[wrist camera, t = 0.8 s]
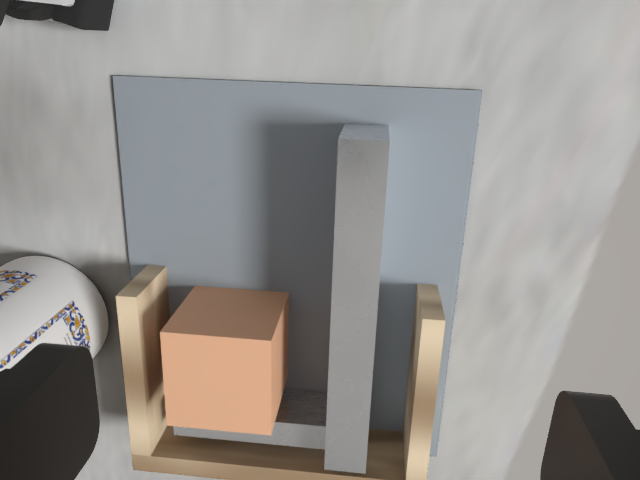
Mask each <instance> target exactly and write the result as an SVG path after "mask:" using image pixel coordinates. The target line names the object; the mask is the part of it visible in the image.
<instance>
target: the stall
mask: <svg viewBox="0 0 640 480" xmlns="http://www.w3.org/2000/svg"><path fill="white" fill-rule="evenodd" d="M116 306H117V316H118V325H119V335H120V345H121V355H122V365H123V374H124V384H125V394H126V404H127V414H128V423H129V433H130V443H131V453H132V462H133V470H139V471H149V472H159V473H168V474H178V475H188V476H197V477H207V478H217V479H227V480H427V471H428V463H429V455H430V446H431V438H432V430H433V422H434V413H435V405H436V397H437V388H438V380H439V372H440V363H441V355H442V347H443V338H444V330H445V322H446V320H445V316H444V312H443V307H442V303H441V299H440V294H439V290H438V286H437V285H428V284H417V291H416V301H415V312H414V322H413V332H412V342H411V352H410V362H409V373H408V383H407V393H406V403H405V413H404V423H403V431H393V430H382V429H371V428H369V434H368V447H367V461H366V474H364V473H354V472H344V471H334V470H324V463H325V450H324V449H314V448H304V447H293V446H283V445H273V444H262V443H252V442H242V441H231V440H221V439H211V438H200V437H190V436H180V435H174V429H173V426H167V422H166V408H165V395H164V381H163V368H162V355H161V341H160V331H161V330H162V328H163V327H164V326H165V325H166V323H167V322H168V321H169V319H170V313H169V298H168V283H167V268H166V266H156V265H147V266H146V267H145V268H144V269H143V270H142V271H141V272H140V273H139V274H138V275H137V276H136V277H135V278H134V279H133V280H132V281H130V282H129V283H128V284H127V285H126V286H125V287H124V288H123V289H122V290H121V291H120V292H119V293H118V294H117V295H116Z"/></svg>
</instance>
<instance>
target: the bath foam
mask: <svg viewBox="0 0 640 480" xmlns="http://www.w3.org/2000/svg"><path fill="white" fill-rule="evenodd" d="M107 333H108V314H107V309H106V306H105V303H104V301H103V298H102V296H101V295H100V293H99V291H98V290H97V288H96V287H95V285H94V284H93V283H92V282H91V281H90V280H89V279H88V278H87V277H86V276H85V275H84V274H83V273H82V272H80V271H79V270H78V269H76V268H75V267H73V266H71V265H69V264H67V263H65V262H63V261H61V260H58V259H54V258H50V257H45V256H27V257H22V258H18V259H15V260H12V261H10V262H8V263H6V264H4V265H3V266H1V267H0V371H2V370H4V369H11V368H12V367H13V366H14V365H15V364H16V363H18V362H19V361H20V360H21V359H22V358H23V357H24V356H25V355H26V354H28V353H29V352H30V351H31V350H32V349H33V348H34V347H36V346H37V345H38V344H41V343H52V344H64V345H75V346H84V347H87V348H88V349H89V351H90V353H91V356H92V359H93V358H94V357H95V356H96V355H97V353H98V352H99V351H100V349H101V348H102V346H103V344H104V342H105V340H106V337H107Z"/></svg>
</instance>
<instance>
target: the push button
mask: <svg viewBox="0 0 640 480" xmlns="http://www.w3.org/2000/svg"><path fill="white" fill-rule="evenodd" d="M113 3H114V0H0V26H1V24H2V22H3V19H4V16H5V14H7V15H9V16H11V17H14V18H17V19H24V20H39V21H40V20H48V21H51V22H56V23H65V24H67V25H70V26H73V27H76V28H79V29H84V30H104V31H108V30H109V25H110V19H111V14H112V8H113Z"/></svg>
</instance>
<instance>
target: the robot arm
mask: <svg viewBox="0 0 640 480" xmlns="http://www.w3.org/2000/svg"><path fill="white" fill-rule="evenodd" d="M99 425H100V420H99V410H98V402H97V394H96V385H95V377H94V369H93V361H92V356H91V353H90V351H89V349H88V348H87V347H84V346H75V345H64V344H52V343H41V344H38V345H37V346H36V347H34V348H33V349H32V350H31V351H30V352H29V353H28V354H26V355H25V356H24V357H23V358H22V359H21V360H20V361H19V362H18V363H16V364H15V365H14V366H13V367H12V368H11V369H4V370H2V371H0V480H74V479H75V478H76V476H77V475H78V473H79V472H80V470H81V469H82V468H83V466H84V465H85V463H86V462H87V460H88V459H89V457H90V456H91V454H92V452H93V450H94V447H95V445H96V442H97V438H98V433H99ZM541 480H640V430H636V429H635V428H634V426H633V425H632V423H631V422H630V420H629V418H628V417H627V415H626V414H625V412H624V411H623V409H622V408H621V406H620V404H619V403H618V401H617V400H616V399H615V398H614V397H613V396H611V395H604V394H593V393H582V392H570V391H562V392H560V393H559V395H558V397H557V399H556V402H555V406H554V411H553V415H552V420H551V425H550V429H549V434H548V438H547V443H546V447H545V452H544V456H543V461H542V466H541Z"/></svg>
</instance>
